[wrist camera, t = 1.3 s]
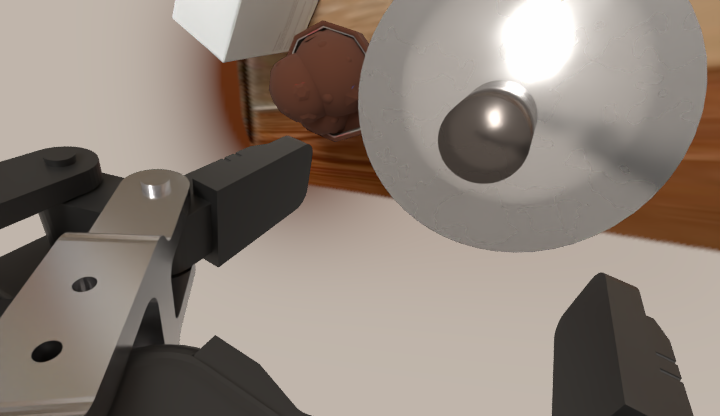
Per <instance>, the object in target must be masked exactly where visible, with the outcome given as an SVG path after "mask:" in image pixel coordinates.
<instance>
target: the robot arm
mask: <svg viewBox="0 0 720 416" xmlns="http://www.w3.org/2000/svg"><path fill="white" fill-rule="evenodd" d="M311 161H312V147H311V146H310V145H309V144H306V143H304V142H302V141H300V140H297V139H295V138H293V137H290V136H284V137H282V138H280V139H278V140H276V141H273V142H271V143H269V144H263V145H257V146H250V147H248V148H245V149H243V150H241V151H239V152H236V154H232V155H229V156H227V157H225V159H220V160H218V161H216V162H213V163H211V164H209V165H206V166H204V167H202V168H200V169H197V170H195V171H193V172H190V173H188V174H186V175H182V174H180V173H178V172H175V171H171V170H164V169H151V170H144V171H139V172H136V173H133V174H131V175H129V176H127V177H126V178H122V177H118V176H114V175H109V174H105V173H102V172H101V167H100V163H99V158H98V156H97V155H96V154H95V153H94V152H92V151H90V150H88V149H84V148H79V147H53V148H47V149H42V150H39V151H35V152H32V153H29V154H25V155H22V156H19V157H15V158H12V159H9V160H5V161H2V162H0V229H2V228H4V227H7V226H9V225H11V224H14V223H16V222H18V221H21V220H23V219H25V218H28V217H30V216H33V215H35V214H37V213H39V216H40V219H41V222H42V224H43V227H44V230H45V233H46V236H44V237H41V238H39V239H37V240H35V241H33V242H31V243H29V244H27V245H25V246H23V247H20V248H18V249H16V250H14V251H12V252H10V253H8V254H6V255H4V256H1V257H0V416H311V415H308V414H305V413H303V412H301V411H300V410H298V409H297V408H296V407H295V405H294V404H293V403H292V402H291V401H290V400H289V398H288V397H287V396H286V395H285V394H284V393H283V391H282V390H281V389H280V388H279V387H278V385H277V384H276V383H275V382H274V381H273V380H272V378H271V377H270V376H269V375H268V374H267V372H265V370H264V369H263V368H262V367H261V365H260V364H258V363H257V362H255V361H254V360H252V359H251V358H249V357H248V356H246V355H245V354H243V353H242V352H240V351H239V350H237V349H235V348H234V347H232V346H231V345H229V344H228V343H226V342H225V341H223V340H222V339H220V338H219V337H217V336H216V335H215V336H214V337H213V338H212V339H211V340H209V342H207V343H206V344H205V345H204V346H203V347H202V348H201V349H200V348H197V347H191V346H186V345H179V341H180V333H181V327H182V323H183V319H184V315H185V311H186V307H187V303H188V299H189V295H190V291H191V287H192V283H193V279H194V275H195V263H197V262H198V261H200V260H201V259H203V258H204V259H205V260H207V261H208V262H210V263H212V264H213V265H215V266H217V267H220V266H221V265H222V264H224V263H225V262H226V261H227V260H229V259H230V258H232V257H233V256H234V255H236V254H237V253H238V252H240V251H241V250H242V249H244V248H245V247H246V246H247V245H249V244H250V243H252V242H253V241H255V240H256V239H257V238H259V237H260V236H261V235H262V234H264V233H265V232H266V231H268V230H269V229H270V228H272V227H273V226H275V225H276V224H277V223H279V222H280V221H281V220H283V219H284V218H285V217H287V216H288V215H289V214H291V213H292V212H293V211H295V210H296V209H297V208H298V207H299V206H300V205H301V203H302V202H303V200H304V198H305V196H306V193H307V187H308V181H309V174H310V167H311ZM675 362H676V359H675V356H674V353H673V350H672V346H671V343H670V341H669V339H668V338H667V336H666V335H665V334H664V332H663V331H662V330H661V328H660V327H659V325H658V324H657V323H656V321H655V320H654V319H653V318H651V317H648V316H646V314H645V311H644V307H643V303H642V299H641V296H640V292H639V290H638V288H636V287H634V286H632V285H630V284H628V283H625V282H623V281H621V280H618V279H616V278H614V277H611V276H609V275H607V274H604V273H598V274H597V275H595V276H594V277H593V278H592V280H591V281H590V282H589V283H588V284H587V286H586V287H585V288H584V289H583V291H582V292H581V293H580V294H579V296H578V297H577V298H576V299H575V300H574V302H573V303H572V304H571V305H570V307H569V308H568V309H567V311H566V312H565V313H564V314H563V316H562V317H561V319H560V321H559V323H558V325H557V328H556V331H555V337H554V365H553V398H552V416H693V413H692V409H691V406H690V403H689V400H688V397H687V394H686V391H685V387H684V384H683V383H682V382H680V380H681V375H680V372H679V368H678V365H676V364H675Z"/></svg>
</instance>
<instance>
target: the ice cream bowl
mask: <svg viewBox="0 0 720 416" xmlns="http://www.w3.org/2000/svg"><path fill="white" fill-rule="evenodd" d="M368 46H369V43H368V42H367V40H366V39H365V37H364V36H363V34H362V33H359V32H356V31H353V30H350V29H347V28H344V27H341V26H338V25H335V24H332V23H329V22H326V21H321V22H319V23H317V24H315V25H313V26H311V27H310V28H308V29H306V30H304V31H302V32H300V33H298V34H297V35H295V36H294V38H293V41H292V44H291V46H290V49H289V51H288V54H287V56H286V57H285V58H283V59H281V60H279V61H278V62H277V63H275V64H274V66H273V68H272V70H271V75H270V85H269V91H270V94H271V97H272V99H273V102H274V103H275V105H276V106H277V108H278V109H279V110H280V112H281V113H283V114H284V115H286V116H287V117H289V118H290V119H292V120H294V121H296V122H301V124H302V125H303V126H304V127H306V129H307V130H309V131H311V132H313V133H315V134H318V135H320V136H322V137H325V138H327V139H329V140H332V141H334V142H337V141H340V140H343V139H347V138H350V137H354V136H357V135H360V134H362V133H361V128H360V123H359V111H358V94H359V83H360V76H361V70H362V66H363V62H364V59H365V55H366V51H367V49H368Z"/></svg>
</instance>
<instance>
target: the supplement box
mask: <svg viewBox="0 0 720 416" xmlns="http://www.w3.org/2000/svg"><path fill="white" fill-rule="evenodd" d="M317 3H318V0H175V4H174V10H173V16H172V18H173V19H174V20H175V21H176V22H177V23H178V24H179V25H181V26H182V27H183V28H184V29H185V30H187V31H188V32H189V33H190V34H191V35H192V36H193V37H195V38H196V39H197V40H198V41H199V42H201V43H202V44H203V45H204V46H205V47H206V48H207V49H208V50H209V51H211V52H212V53H213V54H214V55H215V56H216V57H217V58H219V60H221V61H222V62H223V63H224V62H229V61H235V60H241V59H247V58H253V57H259V56H265V55H271V54H277V53H283V52H288V51H289V49H290V46H291V44H292V41H293V38H294V36H295V35H297V34H298V33H300V32H302V31H304V30H306V29H307V27H308V24H309V22H310V19H311V17H312V15H313V12H314V10H315V7H316V5H317Z"/></svg>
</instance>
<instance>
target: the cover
mask: <svg viewBox="0 0 720 416" xmlns="http://www.w3.org/2000/svg"><path fill="white" fill-rule="evenodd" d="M706 88H707V56H706V51H705V46H704V40H703V35H702V30H701V28H700V25H699V23H698V20H697V18H696V15H695V13H694V10H693V8H692V5H691V4H690V2H689V0H394V1H393V2H392V3H391V5H390V6H389V8H388V9H387V11H386V12H385V13H384V15H383V17H382V19H381V21H380V22H379V24H378V26H377V28H376V30H375V32H374V34H373V36H372V39H371V41H370V44H369V46H368V49H367V51H366V55H365V59H364V62H363V66H362V70H361V76H360V83H359V94H358V111H359V123H360V128H361V133H362V138H363V142H364V145H365V148H366V152H367V155H368V157H369V160H370V162H371V164H372V166H373V168H374V170H375V172H376V174H377V176H378V177H379V179H380V181H381V182H382V184H383V186H384V187H385V188H386V189H387V191H388V192H389V193H390V195H391V196H392V197H393V198H394V200H395V201H396V202H397V203H398V204H399V205H400V206H401V207H402V208H403V209H404V210H405V211H406V212H408V213H409V214H410V215H412V217H414V218H415V219H416V220H417V221H419V222H420V223H422V224H423V225H425V226H426V227H428V228H429V229H431V230H433V231H435V232H436V233H438V234H440V235H442V236H444V237H446V238H449V239H451V240H454V241H457V242H459V243H461V244H465V245H469V246H472V247H476V248H480V249H486V250H492V251H501V252H535V251H542V250H549V249H555V248H559V247H563V246H566V245H570V244H574V243H577V242H580V241H582V240H585V239H587V238H590V237H593V236H595V235H597V234H599V233H601V232H603V231H605V230H607V229H609V228H611V227H613V226H615V225H616V224H618V223H619V222H621V221H622V220H624V219H625V218H627V217H628V216H630V215H631V214H633V213H634V212H635V211H637V210H638V209H639V208H640V207H641V206H642V205H644V204H645V203H646V202H647V201H648V200H650V199H651V198H652V197H653V196H654V195H655V194H656V192H657V191H658V190H659V189H660V188H661V187H662V186H663V185H664V184H665V183H666V182H667V180H668V179H669V178H670V176H671V175H672V174H673V172H674V171H675V169H676V168H677V166H678V165H679V164H680V162H681V161H682V159H683V158H684V156H685V154H686V152H687V150H688V148H689V146H690V144H691V142H692V140H693V138H694V136H695V133H696V130H697V127H698V124H699V121H700V118H701V115H702V112H703V107H704V100H705V94H706Z"/></svg>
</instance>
